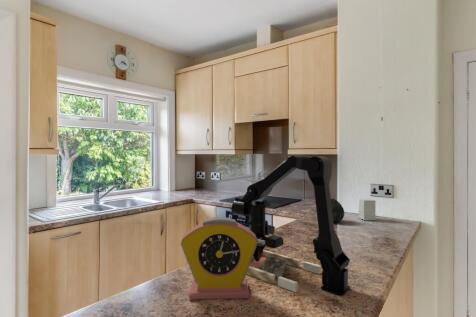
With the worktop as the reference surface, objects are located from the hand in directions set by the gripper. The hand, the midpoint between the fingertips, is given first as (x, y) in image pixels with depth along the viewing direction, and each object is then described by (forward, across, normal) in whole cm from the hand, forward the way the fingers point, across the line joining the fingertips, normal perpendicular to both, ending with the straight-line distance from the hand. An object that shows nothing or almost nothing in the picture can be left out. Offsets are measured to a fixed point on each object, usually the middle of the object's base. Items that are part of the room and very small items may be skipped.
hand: (257, 261), depth 100 cm
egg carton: (+2, -7, 0) cm, 8 cm away
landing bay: (+2, -17, 0) cm, 17 cm away
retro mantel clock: (+2, -3, +23) cm, 23 cm away
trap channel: (+1, -3, 0) cm, 4 cm away
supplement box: (+2, -8, -102) cm, 102 cm away
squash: (+2, +7, -83) cm, 83 cm away
